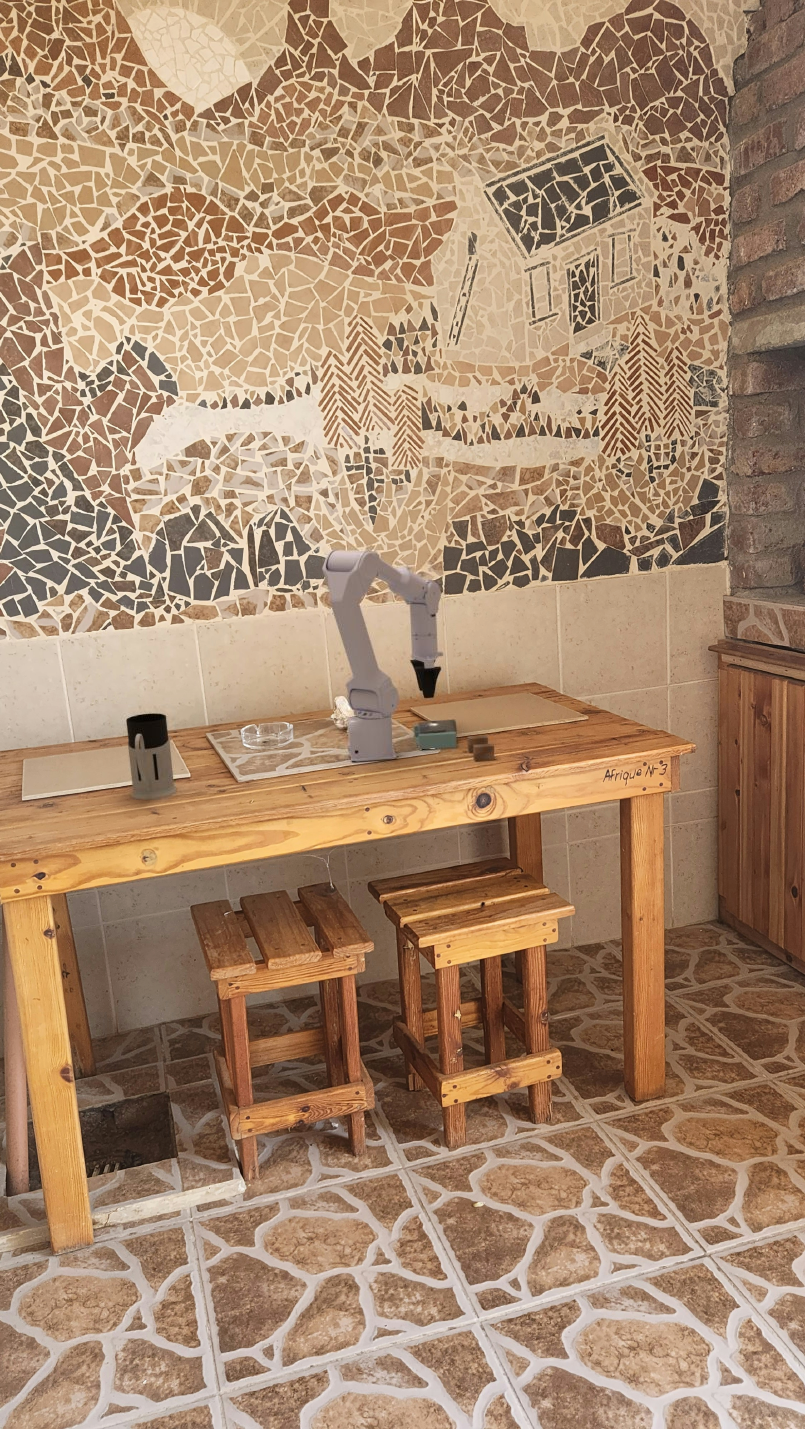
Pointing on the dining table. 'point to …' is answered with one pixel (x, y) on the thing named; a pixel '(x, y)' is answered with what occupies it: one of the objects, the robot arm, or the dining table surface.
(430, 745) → the v block
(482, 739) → the block
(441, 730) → the axle
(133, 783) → the glass holder
